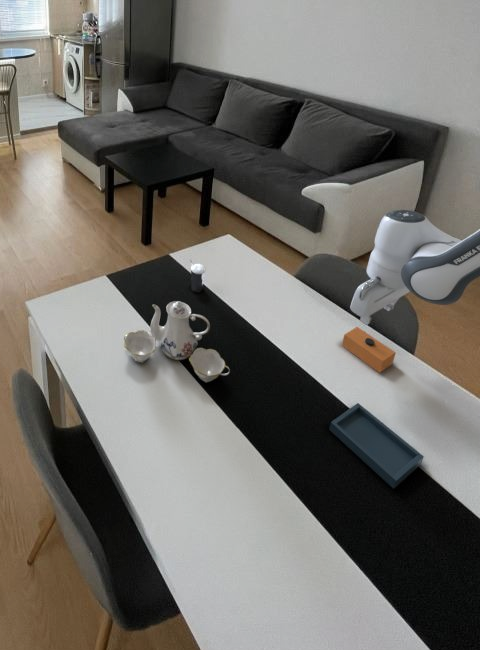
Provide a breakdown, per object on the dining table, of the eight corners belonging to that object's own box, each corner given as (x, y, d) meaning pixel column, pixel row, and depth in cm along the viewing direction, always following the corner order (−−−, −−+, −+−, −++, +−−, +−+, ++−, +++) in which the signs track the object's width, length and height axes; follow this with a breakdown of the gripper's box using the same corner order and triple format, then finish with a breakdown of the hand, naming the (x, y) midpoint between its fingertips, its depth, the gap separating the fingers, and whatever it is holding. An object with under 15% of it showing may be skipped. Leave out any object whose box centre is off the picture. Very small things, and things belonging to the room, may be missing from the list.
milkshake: (193, 281, 143) (194, 256, 140) (206, 289, 140) (208, 264, 136) (184, 287, 141) (186, 262, 137) (198, 295, 137) (200, 270, 133)
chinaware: (118, 372, 114) (115, 330, 106) (130, 322, 128) (128, 281, 120) (228, 397, 106) (234, 353, 98) (228, 341, 119) (233, 298, 112)
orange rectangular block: (392, 364, 110) (396, 350, 109) (379, 373, 108) (383, 359, 106) (354, 337, 119) (357, 324, 117) (341, 345, 116) (344, 332, 115)
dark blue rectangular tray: (421, 464, 88) (424, 456, 87) (393, 489, 84) (396, 481, 83) (355, 410, 99) (357, 402, 98) (328, 429, 96) (330, 422, 95)
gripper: (376, 294, 96) (363, 340, 101) (427, 265, 104) (412, 309, 109) (349, 277, 101) (338, 322, 106) (399, 251, 109) (386, 294, 115)
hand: (376, 315), depth 108 cm, fingers open, 8 cm apart
